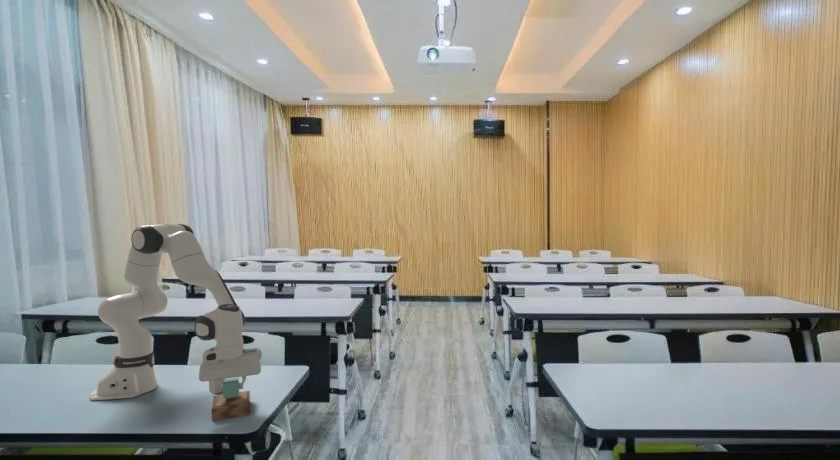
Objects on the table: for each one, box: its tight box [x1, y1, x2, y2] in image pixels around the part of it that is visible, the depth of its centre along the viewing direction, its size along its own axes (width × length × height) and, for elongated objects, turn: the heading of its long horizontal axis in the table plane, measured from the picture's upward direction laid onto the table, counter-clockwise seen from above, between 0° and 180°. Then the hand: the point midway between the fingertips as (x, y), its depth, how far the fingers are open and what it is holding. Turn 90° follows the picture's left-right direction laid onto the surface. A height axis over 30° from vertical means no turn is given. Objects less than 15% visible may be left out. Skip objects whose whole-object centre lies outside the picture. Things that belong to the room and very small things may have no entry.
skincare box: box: [208, 379, 225, 395], centre depth 179 cm, size 6×4×12 cm
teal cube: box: [222, 377, 240, 399], centre depth 160 cm, size 5×5×5 cm
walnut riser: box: [211, 390, 251, 422], centre depth 161 cm, size 12×12×4 cm
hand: (231, 389), depth 160 cm, fingers closed on teal cube, 5 cm apart
